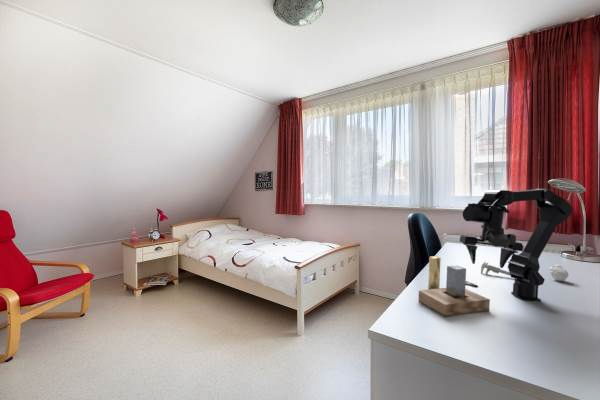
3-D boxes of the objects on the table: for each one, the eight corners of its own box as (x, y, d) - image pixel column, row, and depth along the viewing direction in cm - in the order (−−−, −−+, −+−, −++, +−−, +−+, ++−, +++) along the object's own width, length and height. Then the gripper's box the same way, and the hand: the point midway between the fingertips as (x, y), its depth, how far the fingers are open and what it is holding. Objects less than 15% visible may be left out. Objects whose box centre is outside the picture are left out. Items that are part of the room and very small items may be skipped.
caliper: (480, 274, 129) (481, 261, 129) (480, 273, 130) (481, 260, 130) (536, 283, 118) (537, 269, 117) (536, 282, 118) (537, 268, 118)
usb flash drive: (478, 287, 111) (478, 285, 111) (469, 289, 110) (469, 286, 110) (460, 280, 119) (460, 278, 119) (451, 281, 118) (451, 279, 118)
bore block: (459, 296, 100) (459, 286, 100) (489, 311, 89) (489, 299, 89) (418, 301, 96) (418, 290, 96) (444, 317, 84) (445, 304, 84)
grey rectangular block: (454, 301, 95) (456, 265, 94) (464, 306, 91) (466, 268, 90) (445, 302, 94) (447, 266, 93) (454, 307, 90) (456, 269, 89)
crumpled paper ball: (559, 278, 124) (559, 263, 123) (572, 283, 117) (573, 267, 116) (544, 277, 124) (545, 262, 124) (557, 283, 117) (558, 267, 117)
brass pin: (436, 287, 109) (438, 256, 109) (440, 291, 105) (442, 259, 105) (426, 287, 110) (427, 256, 109) (430, 290, 106) (431, 258, 105)
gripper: (473, 222, 92) (468, 267, 93) (536, 229, 88) (530, 276, 89) (461, 220, 103) (456, 259, 104) (516, 226, 99) (511, 267, 100)
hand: (487, 265), depth 99 cm, fingers open, 9 cm apart
